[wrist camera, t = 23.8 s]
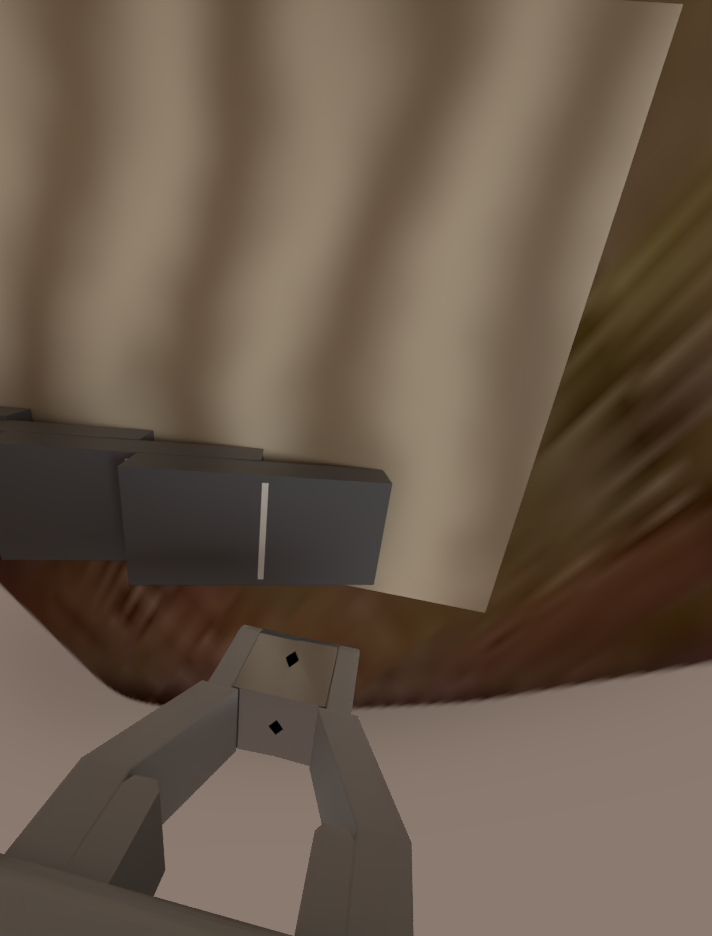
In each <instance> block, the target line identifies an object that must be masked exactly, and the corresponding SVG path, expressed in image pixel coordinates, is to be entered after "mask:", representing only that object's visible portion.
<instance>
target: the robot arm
mask: <svg viewBox="0 0 712 936" xmlns="http://www.w3.org/2000/svg"><path fill="white" fill-rule="evenodd" d="M358 661H359V649H355V648H350V647H345V646H339V645H336V644H331V643H326V642H321V641H316V640H311V639H306V638H299V637H295V636H291V635H287V634H283V633H279V632H275V631H270V630H266V629H261V628H257V627H252V626H248V625H243V626H242V627H241V628H240V629H239V631H238V632H237V634H236V636H235V637H234V639H233V641H232V642H231V644H230V646H229V647H228V649H227V651H226V652H225V654H224V656H223V657H222V659H221V661H220V662H219V664H218V666H217V667H216V669H215V671H214V673H213V674H212V676H211V678H210V679H209V681H208V682H207V681H200V682H199V683H197V684H196V685H194V686H193V687H191V688H189V689H188V690H186V691H185V692H183V693H182V694H180V695H178V696H177V697H175V698H174V699H172V700H171V701H169V702H168V703H166V704H164V705H163V706H161V707H160V708H158V709H157V710H155V711H154V712H152V713H150V714H149V715H147V716H146V717H144V718H143V719H141V720H140V721H138V722H136V723H135V724H133V725H132V726H130V727H129V728H127V729H126V730H124V731H122V732H121V733H119V734H118V735H116V736H115V737H113V738H112V739H110V740H108V741H107V742H106V743H104V744H102V745H101V746H99V747H98V748H96V749H95V750H93V751H91V752H90V753H88V754H87V755H85V756H84V757H82V758H81V759H80V760H79V762H78V763H77V764H76V765H75V767H74V768H73V769H72V770H71V772H70V773H69V774H68V775H67V777H66V778H65V779H64V780H63V781H62V783H61V784H60V785H59V787H58V788H57V789H56V790H55V792H54V793H53V794H52V795H51V797H50V798H49V799H48V800H47V801H46V803H45V804H44V805H43V806H42V808H41V809H40V810H39V811H38V813H37V814H36V815H35V816H34V818H33V819H32V820H31V822H30V823H29V824H28V825H27V827H26V828H25V829H24V830H23V831H22V833H21V834H20V835H19V837H18V838H17V839H16V840H15V841H14V843H13V844H12V845H11V846H10V848H9V849H8V850H7V852H6V853H5V854H1V853H0V936H292V935H288V934H285V933H281V932H278V931H274V930H270V929H267V928H263V927H260V926H256V925H252V924H249V923H246V922H242V921H239V920H235V919H231V918H228V917H224V916H221V915H217V914H213V913H210V912H207V911H203V910H200V909H196V908H192V907H189V906H185V905H182V904H178V903H175V902H171V901H167V900H164V899H160V898H157V897H153V896H154V894H155V892H156V890H157V887H158V885H159V883H160V881H161V878H162V876H163V874H164V872H165V860H164V846H163V832H162V824H163V823H164V822H165V821H166V820H167V819H168V818H169V817H170V816H171V815H172V814H173V813H174V812H175V811H176V810H177V809H178V808H179V807H180V806H181V805H182V804H183V803H184V802H185V801H186V800H187V799H188V798H189V797H190V796H191V795H192V794H193V793H194V792H195V791H196V790H197V789H198V788H199V787H200V786H201V785H202V784H203V783H204V782H205V781H206V780H207V779H208V778H209V777H210V776H211V775H212V774H213V773H214V772H215V771H216V770H217V769H218V768H219V767H220V766H221V765H222V764H223V763H224V762H225V761H226V760H227V759H228V758H229V757H230V756H231V755H232V754H233V753H234V752H235V751H236V748H238V749H243V750H248V751H253V752H258V753H262V754H268V755H274V756H276V757H280V758H283V759H287V760H290V761H294V762H298V763H301V764H305V765H308V766H310V772H311V777H312V781H313V786H314V791H315V795H316V800H317V804H318V809H319V813H320V818H321V822H322V825H321V826H320V827H318V828H317V829H316V830H315V833H314V838H313V843H312V849H311V853H310V859H309V864H308V869H307V874H306V879H305V884H304V890H303V895H302V900H301V905H300V910H299V915H298V920H297V925H296V931H295V936H413V895H412V849H411V841H410V839H409V836H408V834H407V831H406V829H405V827H404V824H403V822H402V820H401V817H400V815H399V813H398V810H397V808H396V806H395V804H394V801H393V799H392V796H391V794H390V792H389V789H388V787H387V785H386V782H385V780H384V777H383V775H382V773H381V770H380V768H379V766H378V763H377V761H376V759H375V756H374V754H373V752H372V749H371V747H370V745H369V742H368V740H367V738H366V735H365V733H364V731H363V728H362V726H361V723H360V721H359V719H358V716H355V715H351V711H352V704H353V696H354V689H355V682H356V675H357V668H358Z"/></svg>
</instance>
